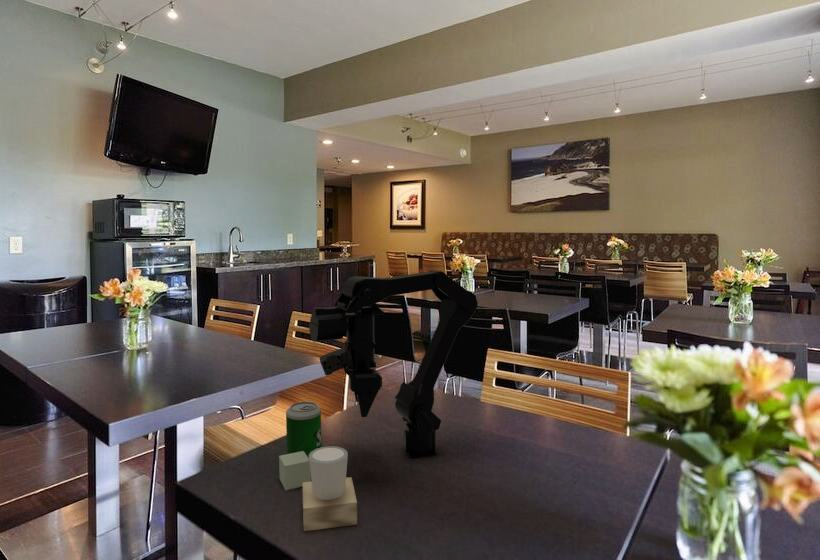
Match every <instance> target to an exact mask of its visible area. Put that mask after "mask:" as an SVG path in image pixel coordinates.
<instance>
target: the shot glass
mask: <svg viewBox="0 0 820 560" xmlns="http://www.w3.org/2000/svg"><path fill="white" fill-rule="evenodd" d="M348 457H349V453H348V450H346V449H345V448H343V447H340V446H334V445H333V446H331V445H330V446H322V447H321V448H318V449H315V450H313V451H312V452H311V453H310V454H309V462H310V475H311V481H312V488H313V495H314V496H315V497H316V498H318V499H321V500H332V499H336V498H339V497H340V496H342V495H343V494H344V492H345V483H346V478H347V470H348V468H347V467H348Z"/></svg>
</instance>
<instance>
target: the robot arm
mask: <svg viewBox="0 0 820 560" xmlns="http://www.w3.org/2000/svg"><path fill="white" fill-rule="evenodd" d="M430 290H431V292H432V293H433V295H434V296H435V297H436V298H437V299H438V300H439V301H440V303H439V307H438V315H439V317H438V319H439V321H438V324H437V326H436V328H435V331H434V333H433V335H432V338H431V340H430V342H429V344H428V347H427V349H426V351H425V354H424V355H423V358H422V359H421V363H420V365H419V366H418V369H417V371H416V374H415V376H414V378H413V379H412V380H410V382H409V383H407V382H405V381H402V383H401V385H400V387H399V391H398V392H397V394H396V395H395V396H394V399H395V402H394V403H395V404H394V407H395V410H396V412H397V414H399V415H400V416H401V418H402V421H403V422H406V423H405V430H403V449H404V450H405V452H406V454H407V455H408V457H409V458H410V459H412V458H413V459H414V458H423V457H424V458H425V457H432V456H439V455H438V453H439V452H438V451H437V450H436V431H437V430H439V429H440V426H441V423H442V420H441V419H440V418H439V417H438V416H437V415H436V414H435V413H434V412H433V411H432V410H433V407H434V403H435V394H434V393H435V386H436V383H437V381H438V378H439V377H440V374H441V372H442V370H443V367H444V365H445V363H446V360H447V358H448V355H449V353H450V351H451V350H452V346H453V344H454V342H455V340H456V338H457V335H458V332H459V331H460V329H462V328H463V327H464V326H465V325H466V324H467V323H468V322H469V321H470V320H471V319H472V317H473V315H474V314H475V312H476V310H477V308H478V305H479V301H478V299H477V296H476V295H475V293H474V292H473V291H470V290H467V289H466V288H464V287H463V286H462V285H460V284H459V283H457V282H456V281H454V280H453V278H451V277H449V275H448V274H447V273H445V272H444V271H442V270H441V271H440V270H434V269H433V270H428V271H425V272H417V273H416V272H415V273H411V274H410V273H409V274H404V275H398V276H397V275H395V276H389V277H374V276H373V277H371V276H357V275H356V276H351V277H349V278H347V279H346V281H345V282H344V284H343V287H342V292H341V293H340V295H339V296H338V298H337V299H336V300H335V302H334V304H333V305H332V306H330V307H329V306H327V307H319V306H317V307H315V306H314V307H312V313H311V316H310V319H309V320H310V321H309V322H308V327H309V329H308V330H309V336H310V339H311V340H312V342H314V343H316V342H323V341H324V342H327V341H335V340H336V341H337V340H342V339H343V337H346V339H345V341H344V347H341V348H338V349H335V350H333V351H330V352H327V353H326V354H323V355H321V356H319V363H320V365H321V368H322V370H323V373H324V375H325V376H330V375H333V374H334V373H335V372H337V371H339V370H343V371H344V373H345V374H346V375H347V376H348V387H349V389H350V391H351V392H353V393H354V398H355V402H356V403H358V407H359V412H360V416H361V417H362V418H367V417H368V415H369V413H370V410H371V408H372V406H373V403H374V402H375V399H376V397H377V395H378V394H379V391H380V390H381V388H383V377H382V375H381V373H380V372H379V371H378V370H377V369H375V368H377V361H376V359H375V349H376V348H377V343H376V342H375V316H381V315H384V314H385V312H384V310H382V309H381V308H380V307H379V306H378V303H381V302H382V301H384V300H386V299H387V298H390V297H393V296H399V295H406V294H411V293H418V292H424V291H430Z"/></svg>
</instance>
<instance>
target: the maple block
mask: <svg viewBox="0 0 820 560" xmlns="http://www.w3.org/2000/svg"><path fill="white" fill-rule="evenodd" d="M302 510H303V511H302V512H303V513H302V514H303V519H302V521H303V532H308V531H316V530H317V531H318V530H324V529H331V528H332V529H333V528H339V527H341V528H342V527H349V526H356V525H358V501H357V495H356V491H355V487H354V482H353V478H352V476H351V477H346V483H345V492H344V494H343V495H342V496H340V497H339V498H336V499H332V500H321V499H318V498H316V497H315V496H314V495H313V488H312V480H311V481H310V482H303V486H302Z"/></svg>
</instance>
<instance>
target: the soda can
mask: <svg viewBox="0 0 820 560" xmlns="http://www.w3.org/2000/svg"><path fill="white" fill-rule="evenodd" d="M285 419H286V420H285V423H286V425H285V427H286V429H285V430H286V454H291V453H296V452H301V451H304V452H305V454H306V455H307V457H308V458H309V454H310V453H311V452H312V451H313V450H315V449H318V448H321V447H323V445H322V409H321V407H320V406H318V405H317V403H315V402H313V401H312V402H311V401H299V402H295V403H293V404H291V405H290V406H289V407H288V408H287V410H286V411H285Z"/></svg>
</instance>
